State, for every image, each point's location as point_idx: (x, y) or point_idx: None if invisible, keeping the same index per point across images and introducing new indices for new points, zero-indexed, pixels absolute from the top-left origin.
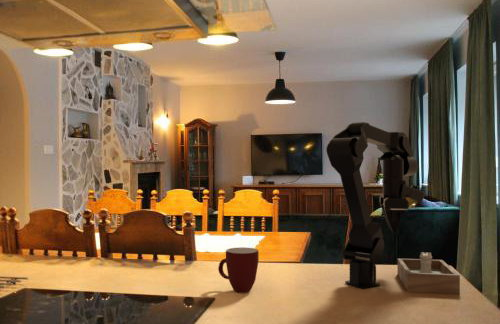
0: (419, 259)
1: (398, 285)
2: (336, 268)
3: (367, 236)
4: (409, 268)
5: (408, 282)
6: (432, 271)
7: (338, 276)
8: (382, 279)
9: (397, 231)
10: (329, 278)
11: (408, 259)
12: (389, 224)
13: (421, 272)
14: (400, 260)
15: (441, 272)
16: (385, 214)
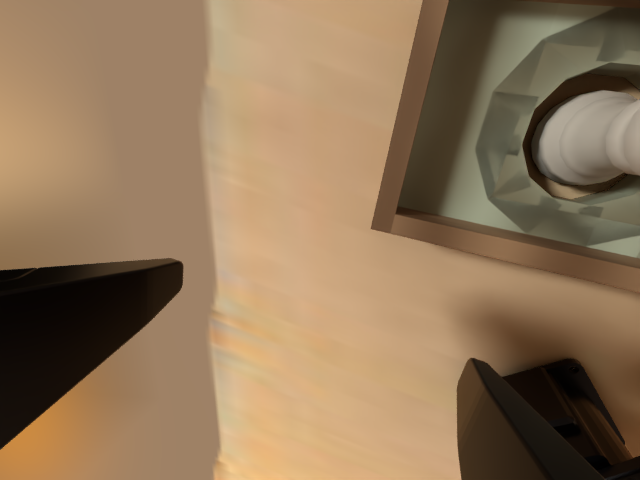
0: (407, 106)
1: (585, 283)
2: (280, 390)
3: None
4: (407, 169)
5: None
6: (494, 59)
7: (397, 430)
8: (462, 305)
9: (499, 376)
10: (424, 466)
11: (402, 176)
12: (151, 310)
13: (617, 170)
14: (427, 233)
15: (531, 7)
16: (34, 409)
